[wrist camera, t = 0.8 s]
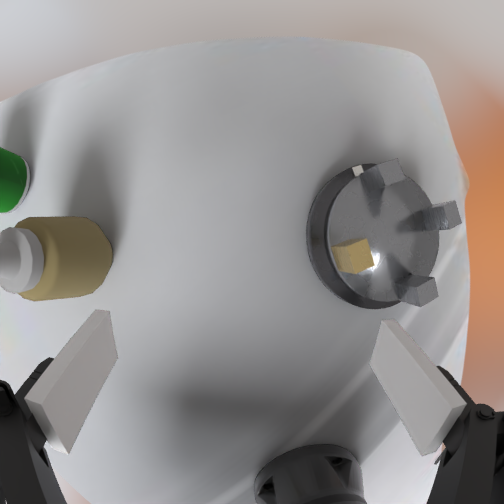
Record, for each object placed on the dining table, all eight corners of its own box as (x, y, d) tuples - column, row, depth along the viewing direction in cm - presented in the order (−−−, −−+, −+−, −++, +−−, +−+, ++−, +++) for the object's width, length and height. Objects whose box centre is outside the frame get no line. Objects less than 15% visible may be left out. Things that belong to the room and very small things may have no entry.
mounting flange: (437, 274, 33) (447, 275, 31) (332, 328, 32) (339, 333, 30) (400, 155, 33) (409, 150, 30) (284, 190, 31) (289, 186, 29)
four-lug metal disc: (440, 270, 31) (472, 274, 25) (347, 318, 30) (372, 333, 24) (406, 161, 30) (436, 147, 24) (304, 194, 29) (322, 181, 23)
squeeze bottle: (105, 206, 30) (-2, 169, 12) (134, 272, 30) (37, 298, 12) (53, 240, 29) (-62, 235, 11) (79, 303, 30) (-29, 345, 12)
